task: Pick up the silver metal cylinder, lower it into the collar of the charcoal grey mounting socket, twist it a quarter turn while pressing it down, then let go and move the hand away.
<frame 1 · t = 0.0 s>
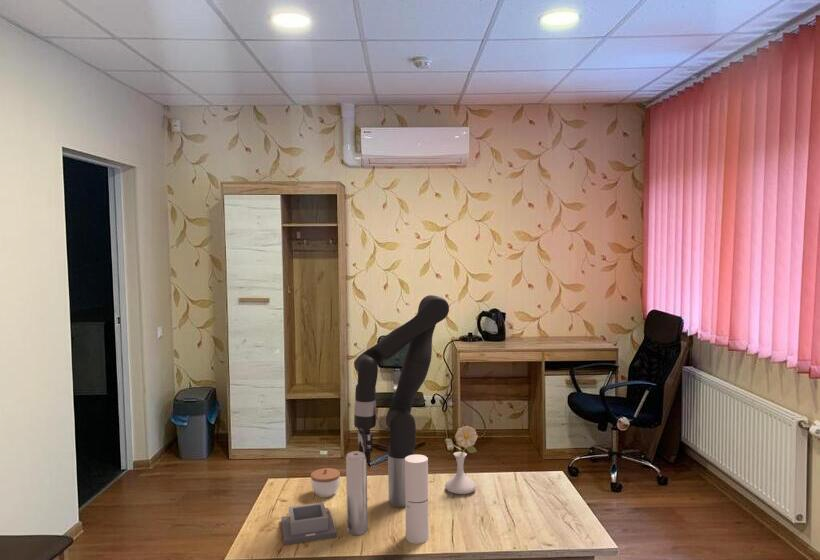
hand: (364, 458, 196), 17 cm above the table, tool pointing down, fingers open, 8 cm apart
cylindrical container: (417, 538, 175), on the table
flower in vase: (462, 491, 209), on the table
silver metal cylinder: (357, 531, 180), on the table
lidded jar: (325, 494, 208), on the table
filter socket: (308, 528, 182), on the table
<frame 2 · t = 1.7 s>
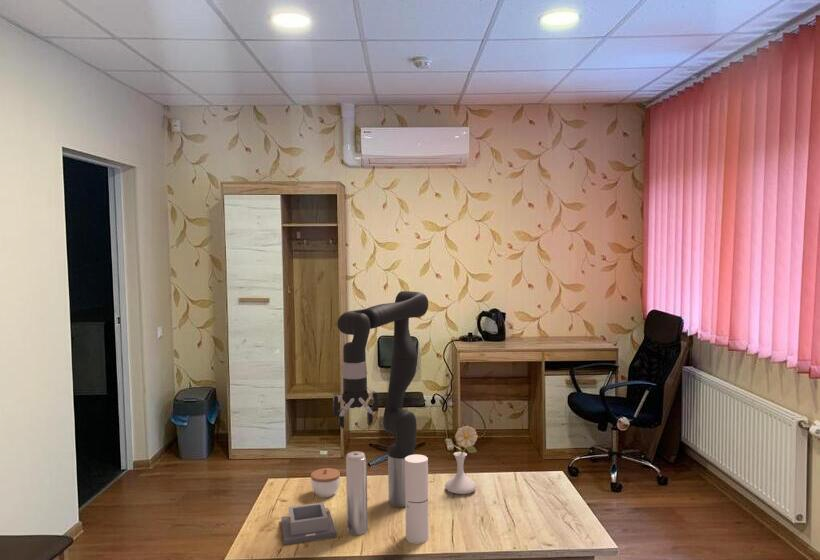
hand: (355, 426, 179), 34 cm above the table, tool pointing down, fingers open, 8 cm apart
nothing on the table moved.
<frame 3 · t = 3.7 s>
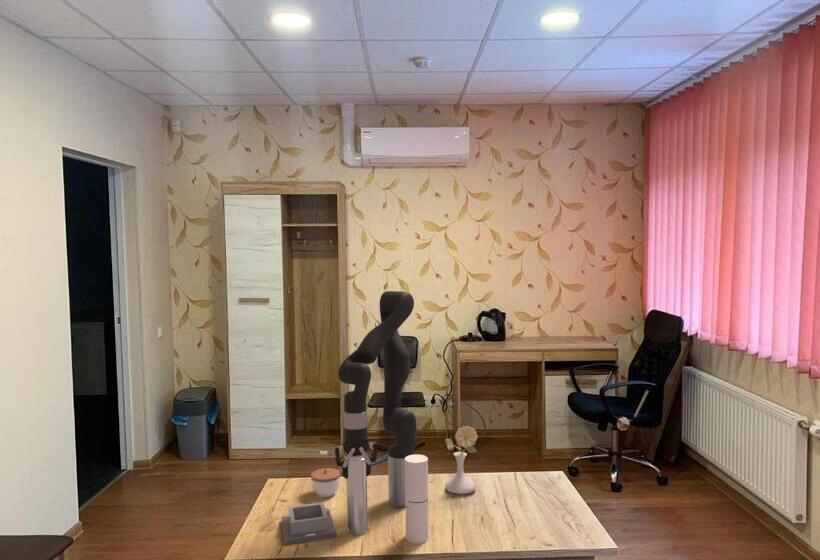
hand: (356, 476, 179), 18 cm above the table, tool pointing down, fingers closed on silver metal cylinder, 6 cm apart
silver metal cylinder: (357, 531, 180), on the table, touching gripper
everything else where it was.
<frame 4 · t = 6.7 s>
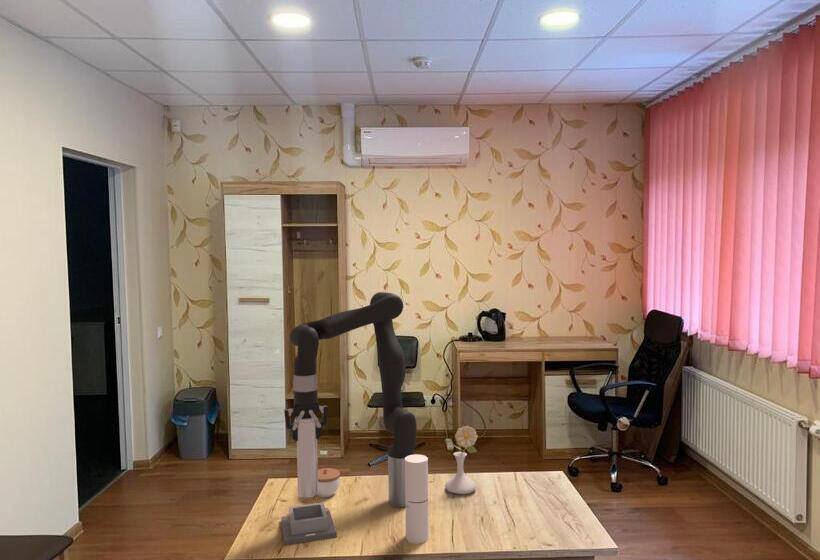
hand: (306, 439, 180), 29 cm above the table, tool pointing down, fingers closed on silver metal cylinder, 6 cm apart
silver metal cylinder: (308, 494, 181), point 11 cm above the table, touching gripper
everything else where it was.
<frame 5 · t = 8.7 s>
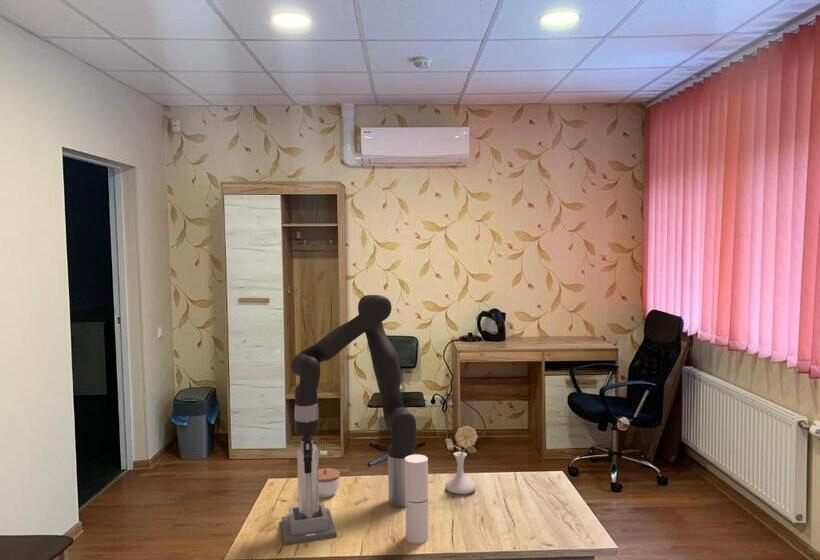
hand: (307, 468, 180), 20 cm above the table, tool pointing down, fingers closed on silver metal cylinder, 6 cm apart
silver metal cylinder: (309, 523, 181), point 2 cm above the table, touching gripper
everything else where it was.
when the fingers open (19 cm above the table, at t = 10.0 s): silver metal cylinder stays where it is, resting on filter socket.
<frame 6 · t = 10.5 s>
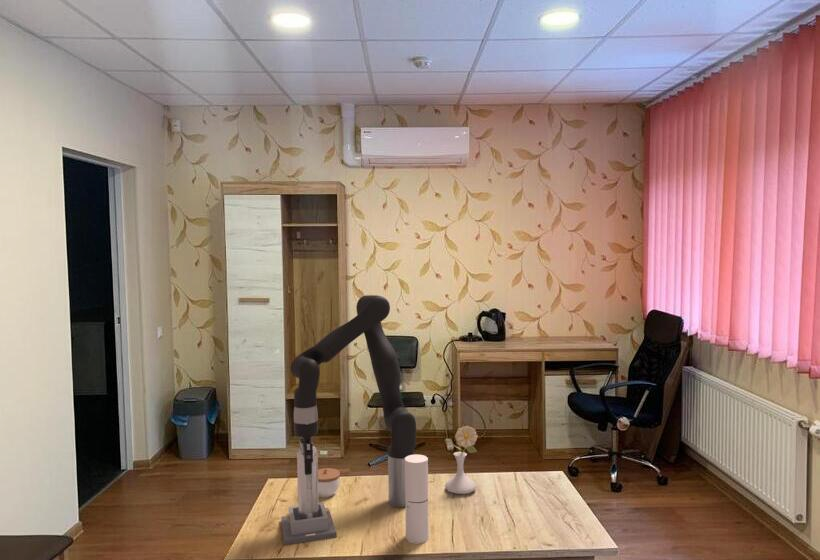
hand: (306, 469, 181), 20 cm above the table, tool pointing down, fingers open, 8 cm apart
silver metal cylinder: (308, 524, 182), point 1 cm above the table, touching filter socket
everything else where it was.
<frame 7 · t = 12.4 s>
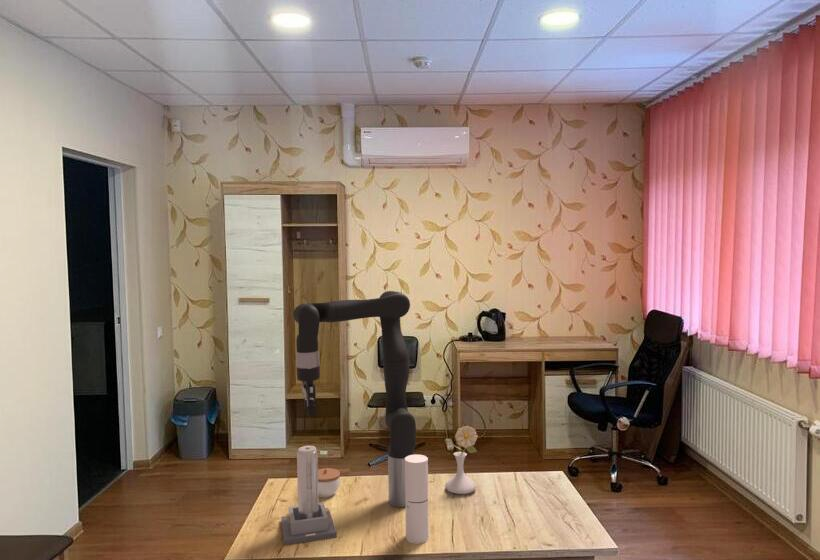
hand: (309, 413, 185), 36 cm above the table, tool pointing down, fingers open, 8 cm apart
nothing on the table moved.
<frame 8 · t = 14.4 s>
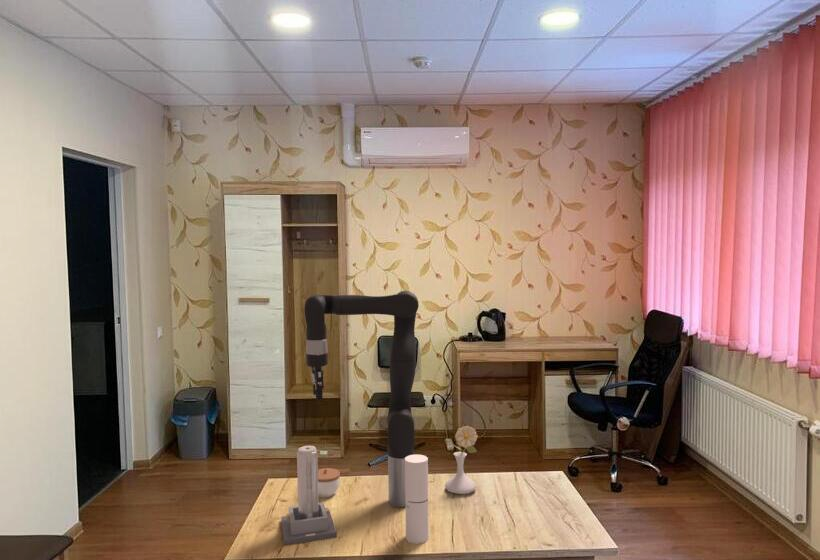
hand: (317, 397, 199), 38 cm above the table, tool pointing down, fingers open, 8 cm apart
nothing on the table moved.
at the end: silver metal cylinder 0.2 cm off-centre on the filter socket, point 1.3 cm above the filter socket's base; silver metal cylinder tilted 0°; the gripper is holding nothing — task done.
